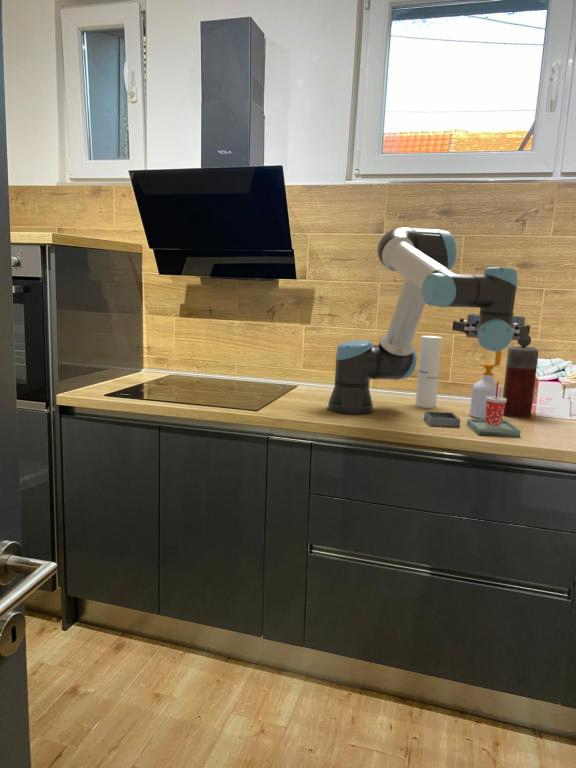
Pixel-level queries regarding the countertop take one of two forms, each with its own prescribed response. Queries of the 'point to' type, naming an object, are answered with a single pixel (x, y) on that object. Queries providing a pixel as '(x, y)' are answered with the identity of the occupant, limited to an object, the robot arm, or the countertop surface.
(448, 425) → the socket collar
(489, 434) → the tray
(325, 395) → the countertop surface
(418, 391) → the cylindrical container
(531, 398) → the dark red bottle
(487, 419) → the beverage cup
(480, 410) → the soap bottle
